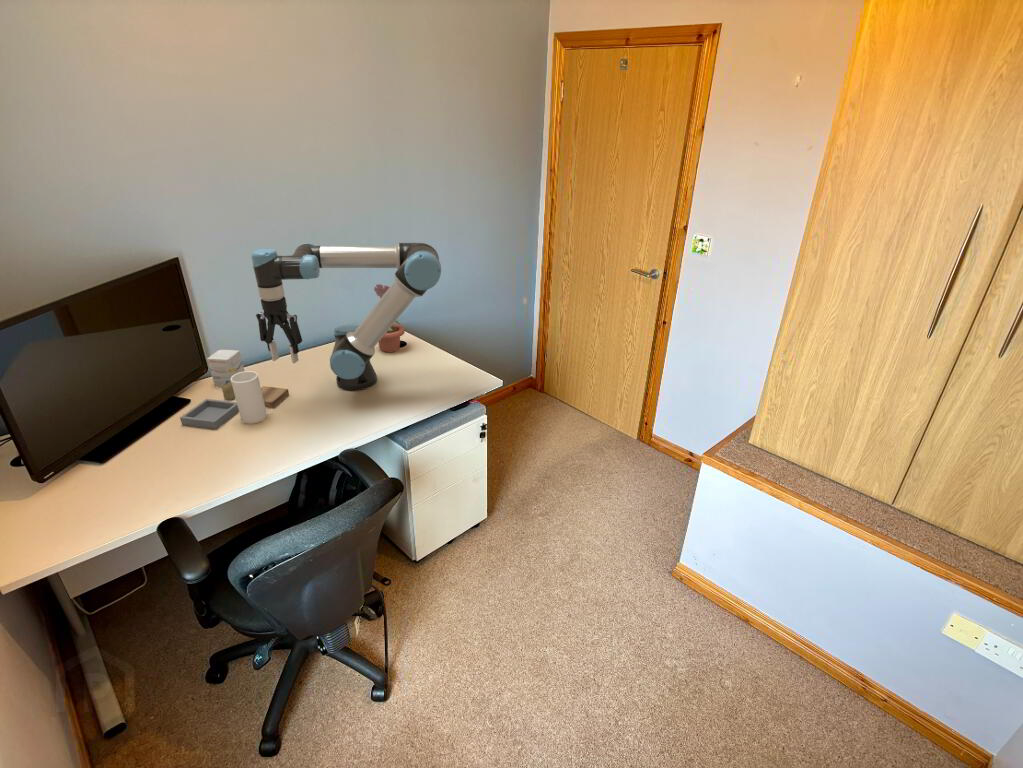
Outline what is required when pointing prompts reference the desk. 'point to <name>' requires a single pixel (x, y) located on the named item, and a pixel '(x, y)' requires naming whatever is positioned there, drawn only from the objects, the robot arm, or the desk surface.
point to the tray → (210, 414)
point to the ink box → (225, 366)
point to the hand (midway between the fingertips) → (285, 360)
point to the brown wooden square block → (273, 396)
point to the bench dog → (228, 391)
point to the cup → (249, 397)
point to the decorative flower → (392, 336)
